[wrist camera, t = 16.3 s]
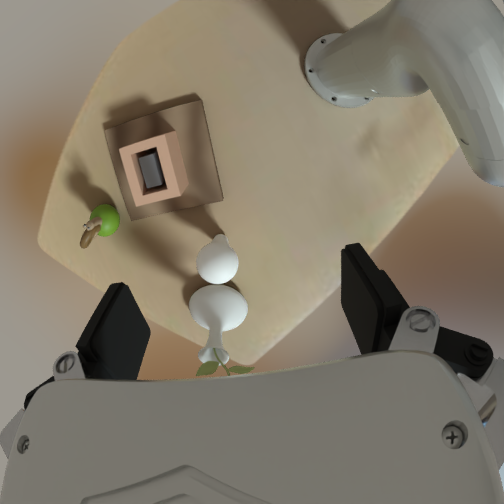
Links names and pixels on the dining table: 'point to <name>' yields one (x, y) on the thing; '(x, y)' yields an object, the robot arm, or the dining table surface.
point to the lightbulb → (217, 261)
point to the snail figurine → (100, 224)
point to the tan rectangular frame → (170, 166)
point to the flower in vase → (217, 323)
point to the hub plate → (189, 152)
